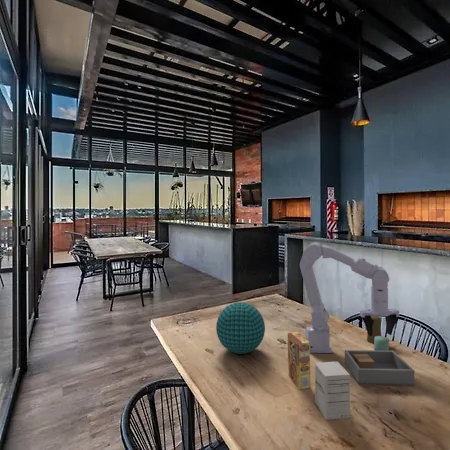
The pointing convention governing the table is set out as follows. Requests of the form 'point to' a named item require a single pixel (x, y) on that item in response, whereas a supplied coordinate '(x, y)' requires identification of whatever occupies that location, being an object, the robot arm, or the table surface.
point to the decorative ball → (240, 328)
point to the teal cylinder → (381, 343)
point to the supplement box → (332, 390)
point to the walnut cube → (364, 361)
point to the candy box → (299, 360)
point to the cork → (375, 329)
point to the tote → (380, 368)
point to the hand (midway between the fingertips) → (379, 334)
